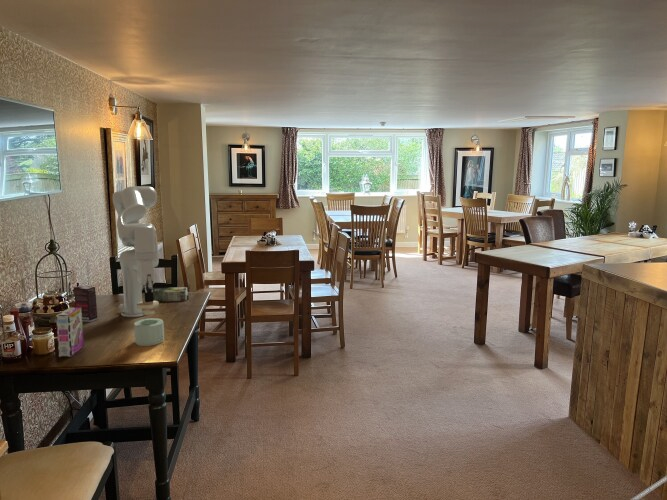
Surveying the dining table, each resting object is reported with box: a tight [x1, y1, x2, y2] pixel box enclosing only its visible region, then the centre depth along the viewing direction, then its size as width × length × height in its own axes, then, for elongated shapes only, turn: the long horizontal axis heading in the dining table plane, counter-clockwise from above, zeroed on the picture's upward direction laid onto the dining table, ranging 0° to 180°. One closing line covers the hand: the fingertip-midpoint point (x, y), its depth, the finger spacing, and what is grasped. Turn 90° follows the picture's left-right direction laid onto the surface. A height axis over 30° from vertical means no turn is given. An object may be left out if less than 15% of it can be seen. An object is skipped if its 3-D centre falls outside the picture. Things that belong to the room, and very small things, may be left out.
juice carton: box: [153, 286, 190, 303], centre depth 262 cm, size 20×10×6 cm, turn 103°
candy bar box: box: [55, 306, 85, 358], centre depth 185 cm, size 11×5×16 cm, turn 5°
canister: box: [133, 317, 165, 347], centre depth 198 cm, size 11×11×8 cm
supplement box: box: [73, 285, 98, 323], centre depth 224 cm, size 9×5×16 cm, turn 71°
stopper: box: [137, 293, 160, 316], centre depth 196 cm, size 8×8×8 cm
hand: (147, 299), depth 196 cm, fingers closed on stopper, 4 cm apart
